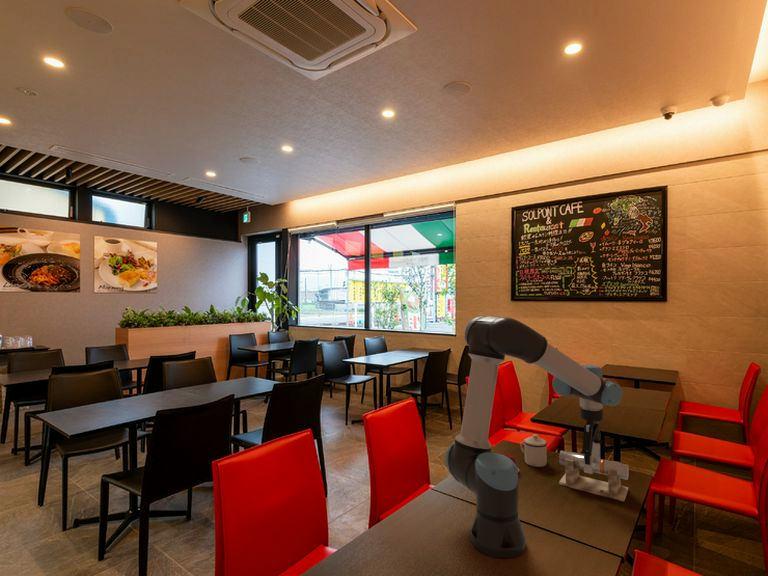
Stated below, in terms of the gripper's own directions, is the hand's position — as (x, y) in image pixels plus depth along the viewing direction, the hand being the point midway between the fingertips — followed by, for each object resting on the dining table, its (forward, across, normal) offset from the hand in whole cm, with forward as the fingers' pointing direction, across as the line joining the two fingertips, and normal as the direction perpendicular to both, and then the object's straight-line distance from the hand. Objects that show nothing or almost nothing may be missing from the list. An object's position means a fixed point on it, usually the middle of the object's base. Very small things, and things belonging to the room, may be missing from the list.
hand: (592, 466), depth 149 cm
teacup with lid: (+8, +10, +25) cm, 28 cm away
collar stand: (+8, 0, 0) cm, 8 cm away
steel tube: (+2, -1, 0) cm, 2 cm away
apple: (+8, -4, +30) cm, 31 cm away
